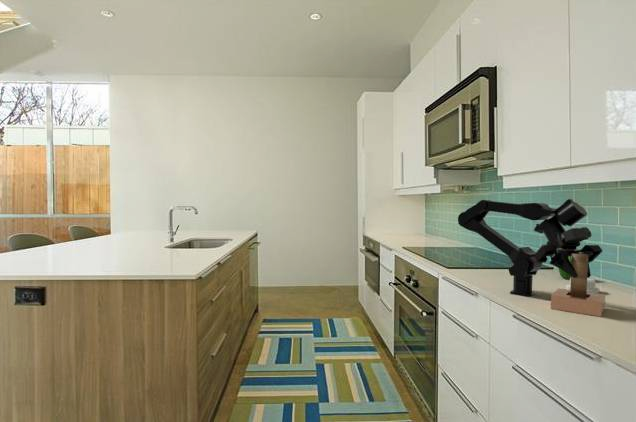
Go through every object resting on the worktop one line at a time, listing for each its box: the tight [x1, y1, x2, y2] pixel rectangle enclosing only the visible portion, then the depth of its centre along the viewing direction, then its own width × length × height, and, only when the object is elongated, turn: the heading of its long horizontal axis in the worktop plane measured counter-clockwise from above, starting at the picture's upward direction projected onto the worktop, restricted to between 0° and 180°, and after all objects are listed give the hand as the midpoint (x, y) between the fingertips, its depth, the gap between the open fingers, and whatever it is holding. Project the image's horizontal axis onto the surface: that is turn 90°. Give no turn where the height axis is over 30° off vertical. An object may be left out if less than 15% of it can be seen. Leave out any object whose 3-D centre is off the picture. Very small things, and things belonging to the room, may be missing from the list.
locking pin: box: [570, 253, 588, 298], centre depth 118 cm, size 4×4×13 cm
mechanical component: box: [565, 278, 600, 294], centre depth 143 cm, size 10×4×10 cm
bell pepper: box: [558, 257, 572, 280], centre depth 166 cm, size 8×8×10 cm
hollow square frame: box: [550, 288, 606, 318], centre depth 118 cm, size 12×12×4 cm
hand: (582, 276), depth 117 cm, fingers closed on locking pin, 4 cm apart
